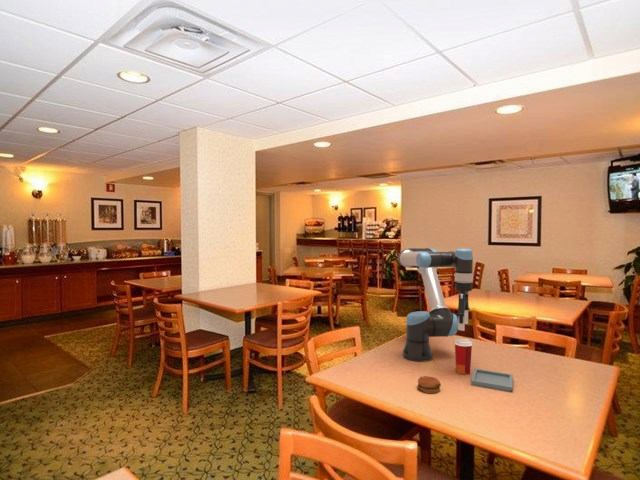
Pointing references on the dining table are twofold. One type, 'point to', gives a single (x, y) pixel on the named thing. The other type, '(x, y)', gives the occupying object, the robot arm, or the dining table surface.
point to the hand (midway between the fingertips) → (463, 326)
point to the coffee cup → (463, 355)
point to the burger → (429, 384)
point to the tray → (492, 380)
